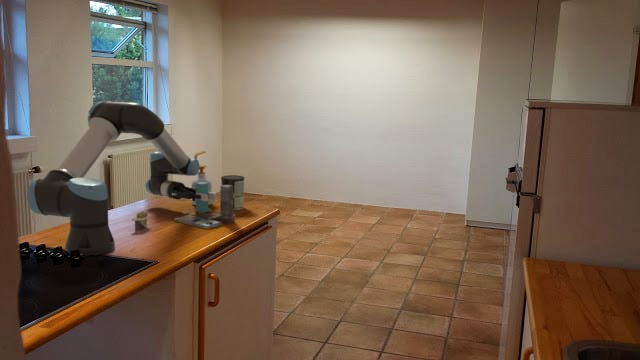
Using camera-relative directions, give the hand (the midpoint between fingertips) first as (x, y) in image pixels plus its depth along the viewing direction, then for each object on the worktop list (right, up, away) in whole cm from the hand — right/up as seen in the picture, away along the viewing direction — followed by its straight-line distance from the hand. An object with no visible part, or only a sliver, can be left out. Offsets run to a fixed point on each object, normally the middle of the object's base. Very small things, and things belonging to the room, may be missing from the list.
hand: (211, 197), depth 233 cm
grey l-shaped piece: (-1, -10, -3) cm, 10 cm away
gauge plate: (-4, -10, -7) cm, 13 cm away
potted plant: (-23, -12, -17) cm, 31 cm away
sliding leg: (-7, -6, +1) cm, 9 cm away
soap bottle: (-10, -4, +29) cm, 31 cm away
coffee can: (+5, -6, +23) cm, 24 cm away
